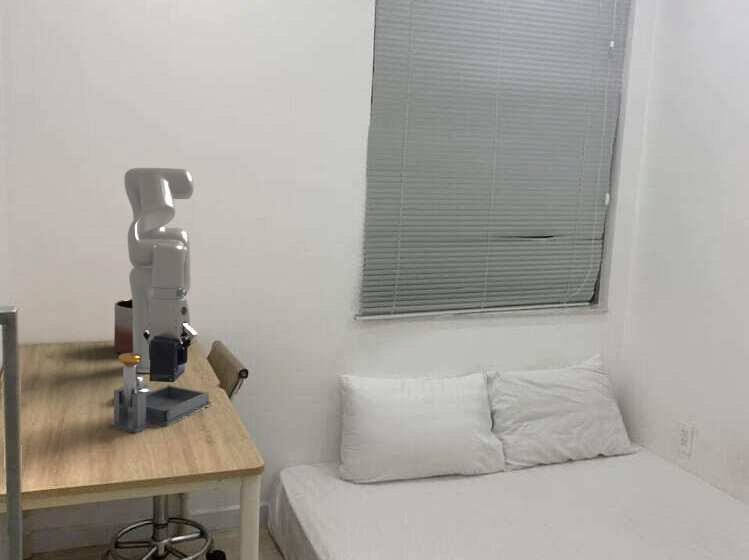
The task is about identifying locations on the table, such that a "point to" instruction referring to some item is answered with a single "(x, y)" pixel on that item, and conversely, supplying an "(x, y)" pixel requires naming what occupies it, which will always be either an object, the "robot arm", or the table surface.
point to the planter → (124, 326)
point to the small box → (164, 360)
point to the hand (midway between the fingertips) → (168, 361)
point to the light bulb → (129, 376)
